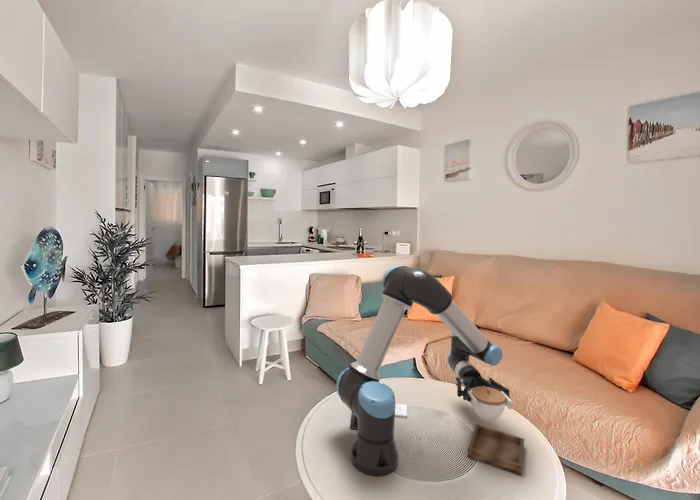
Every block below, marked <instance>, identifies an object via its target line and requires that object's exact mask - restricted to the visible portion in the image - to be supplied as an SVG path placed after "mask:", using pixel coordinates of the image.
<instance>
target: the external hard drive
mask: <svg viewBox="0 0 700 500" xmlns="http://www.w3.org/2000/svg"><path fill="white" fill-rule="evenodd" d="M407 407H408V406H407V404H401V403H396V408H395V418H404V419H408V408H407Z"/></svg>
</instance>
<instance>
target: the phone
mask: <svg viewBox="0 0 700 500" xmlns="http://www.w3.org/2000/svg"><path fill="white" fill-rule="evenodd" d="M349 428H350V429H351V430H353V431H358V418H357V417H356V415H355V414H354V413H353V412H352V411H351V417H350V425H349Z"/></svg>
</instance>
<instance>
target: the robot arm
mask: <svg viewBox="0 0 700 500" xmlns="http://www.w3.org/2000/svg"><path fill="white" fill-rule="evenodd" d="M382 287H383V291H382V294H381V296H382V299H383V301H382V303H381V305H380V307H379V310H378V312H377V314H376V316H375V320H374V321H373V323H372V326H371V328H370V330H369V333H368V335H367V338H366V339H365V342H364V344H363V345H362V348H361V351H360V352H359V354H358V357H357V360H356V361H353V362H351V363H350V365H349V367H347V368H346V369H345V370H342V371H341V372H340V374H339V376H338V377H337V380H336V388H335V389H336V392H337V395H338V396H339V398H340V400H341V402H342V403H343V404H345V405H346V407H348V409H349V410H350V411H351V413H352V412H353V413H354V414H355V415H356V417H357V418H358V430H357V434H356V437H355V440H354V442H353V445H352V449H351V453H350V454H351V459H350V460H351V463H352V465H353V467H355V469H357V470H358V471H359V472H360V473H363V474H366V475H369V476H374V477H376V476H377V477H379V476H386V475H389V474H391V473H393V472H394V471H395V470H396V469H397V467H398V463H399V452H398V449H397V445H396V441H395V437H394V435H395V418H396V417H395V408H396V404H397V403H396V395H395V392H394V391H393V389H392V388H391V387H390V386H389V385H387V384H385V383H383V382H382V383H381V382H380V380H381V375H380V373H379V371H380V368H381V367H382V364H383V362H384V360H385V357H386V355H387V353H388V350H389V349H390V346H391V344H392V342H393V339H394V337H395V335H396V333H397V330H398V328H399V325H400V323H401V321H402V319H403V316H404V314H405V312H406V310H409V309H412V306H413V304H414V303H415V304H417V305H420V306H421V307H423V308H424V309H426V310H427V311H428V312H429V313H430V314H432V315H433V316H434V315H436V316H437V318H439V320H441V321H442V322H443V323H444V325H446V327H448V329H449V330H451V340H450V341H451V342H450V343H451V344H450V352H449V353H448V355H447V357H446V358H447V359H446V360H447V363H448V366H449V367H450V369H451V370H452V371H453V372H454V374H455V375H456V376H457V377H455V385H456V389H457V390H456V392H457V393H456V395H457V396H456V397H458V398H461V397H462V399H463V401H467V402H469V403H470V405H471V406H472V408H473V407H474V409H477V400H476V399H475V397H474V396H473V395H472V393H471V390H472V389H473V388H474V387H478V386H485V387H491V388H494V389H497V390H499V391H500V392H502V393H503V394H504V395H505V397H506V400H505V407H507V408H508V410H512V409H513V407H512V406H513V400H511V397H510V389H508V388H507V387H505V386H504V385H502V384H500V383H498V382H497V381H495V380H494V379H493V378H492V377H488V379H485V378H483V377H482V374H481V373H480V372H479V370H478V369H477V368H476V367H475V366H474V365H473V364H472V363H471V362H470V356H471V357H473V358H474V359H477V360H479V361H481V362H483V363H484V364H485V365H486V364H487V365H490V366H497V365H499V364H500V362H501V361H502V358H503V355H504V354H503V350H502V347H500V346H498V345H496V344H494V343H492V342H491V341H489V339H488V338H487V337H486V336H485V335H484V334H483V333H482V331H481V330H480V329H479V328H478V327H477V326H476V325H475V324H474V322H472V320H471V319H470V318H469V317H468V316H467V315H466V313H464V311H463V310H462V309H461V308H460V307H459V306H458V304H456V302H455V301H454V299H453V295H452V294H451V292H450V291H449V290H448V289H447V288H446V287H445V285H443V284H442V282H441V281H440V280H439V279H438V278H436V277H435V276H434V275H432V274H431V273H429V272H428V271H426V270H422V269H419V268H413V267H410V266H407V265H394V266H392V267H390V268H389V269H388V270H387V271H385V273H384V275H383V277H382ZM462 385H464V389H462ZM474 409H473V410H474Z"/></svg>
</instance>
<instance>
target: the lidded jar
mask: <svg viewBox="0 0 700 500" xmlns="http://www.w3.org/2000/svg"><path fill="white" fill-rule="evenodd" d="M470 392H471V393H472V395H473V396H474V397H475V399H476V400H477V409H474V407H473V406H472V409H473V411H474V412H475V414H476V415H477V417H478V418H480V419H482V420H484V421H487V422H493V421H496V420H497V419H499V418H500V417H501V416H502V415H503V413H504V410H505V407H506V405H505V400H506V397H505V395H504V394H503V393H502V392H500V391H499V390H497V389H494V388H491V387H485V386H478V387H474V388H472V389H471V391H470Z"/></svg>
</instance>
